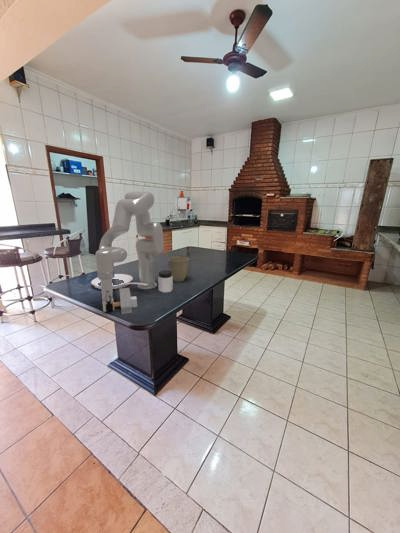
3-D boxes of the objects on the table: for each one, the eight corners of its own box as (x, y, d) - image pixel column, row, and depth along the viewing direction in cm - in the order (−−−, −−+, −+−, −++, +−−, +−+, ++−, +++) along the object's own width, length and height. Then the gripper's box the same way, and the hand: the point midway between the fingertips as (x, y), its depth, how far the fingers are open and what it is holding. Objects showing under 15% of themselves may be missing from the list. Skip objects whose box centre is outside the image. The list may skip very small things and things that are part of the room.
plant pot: (190, 277, 166) (190, 256, 162) (187, 284, 152) (187, 261, 147) (170, 276, 167) (170, 256, 163) (166, 283, 153) (165, 260, 149)
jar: (175, 290, 140) (175, 272, 137) (165, 293, 135) (164, 275, 131) (166, 286, 146) (166, 269, 143) (156, 290, 141) (155, 271, 137)
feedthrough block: (120, 301, 123) (119, 286, 121) (129, 300, 125) (128, 285, 123) (121, 314, 109) (120, 297, 106) (132, 312, 111) (130, 296, 108)
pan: (115, 276, 168) (115, 268, 166) (161, 287, 146) (160, 278, 144) (83, 286, 146) (81, 277, 144) (130, 301, 124) (129, 290, 122)
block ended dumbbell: (103, 308, 115) (102, 298, 114) (136, 303, 121) (135, 294, 119) (103, 311, 111) (102, 301, 109) (137, 306, 117) (136, 297, 115)
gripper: (98, 270, 115) (102, 303, 120) (97, 280, 100) (101, 317, 105) (114, 269, 118) (117, 301, 123) (114, 279, 103) (118, 314, 108)
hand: (109, 308), depth 114 cm, fingers closed on block ended dumbbell, 4 cm apart
